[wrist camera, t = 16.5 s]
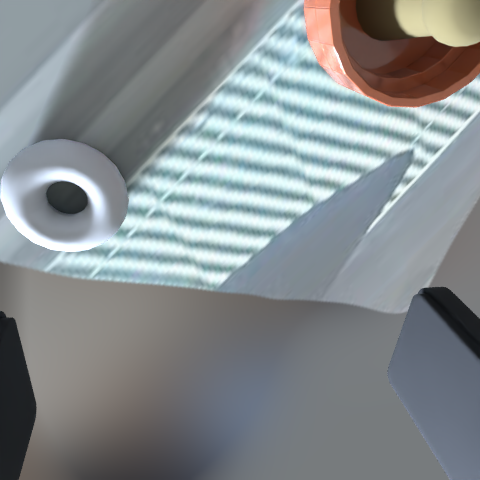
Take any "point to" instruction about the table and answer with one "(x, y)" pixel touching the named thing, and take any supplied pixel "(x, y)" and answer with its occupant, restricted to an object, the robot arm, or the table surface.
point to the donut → (71, 170)
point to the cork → (421, 20)
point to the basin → (386, 58)
